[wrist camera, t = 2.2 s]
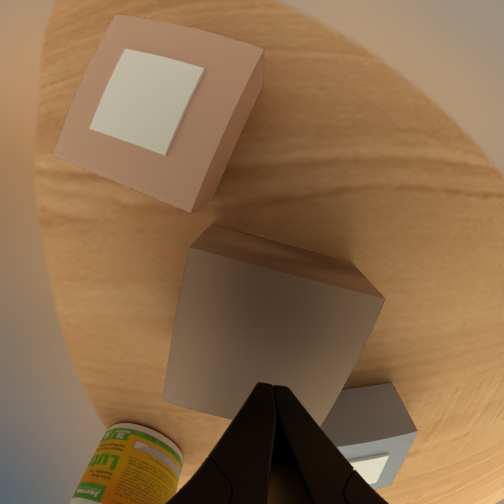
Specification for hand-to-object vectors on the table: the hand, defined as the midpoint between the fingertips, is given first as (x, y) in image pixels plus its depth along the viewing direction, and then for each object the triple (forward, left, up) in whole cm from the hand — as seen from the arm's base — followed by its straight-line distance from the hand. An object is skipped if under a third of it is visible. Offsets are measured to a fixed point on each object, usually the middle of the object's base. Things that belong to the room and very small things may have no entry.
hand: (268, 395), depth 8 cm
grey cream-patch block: (-6, +6, -6) cm, 10 cm away
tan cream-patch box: (+5, -7, -6) cm, 10 cm away
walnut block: (0, 0, -6) cm, 6 cm away
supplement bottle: (+5, +12, -6) cm, 14 cm away
